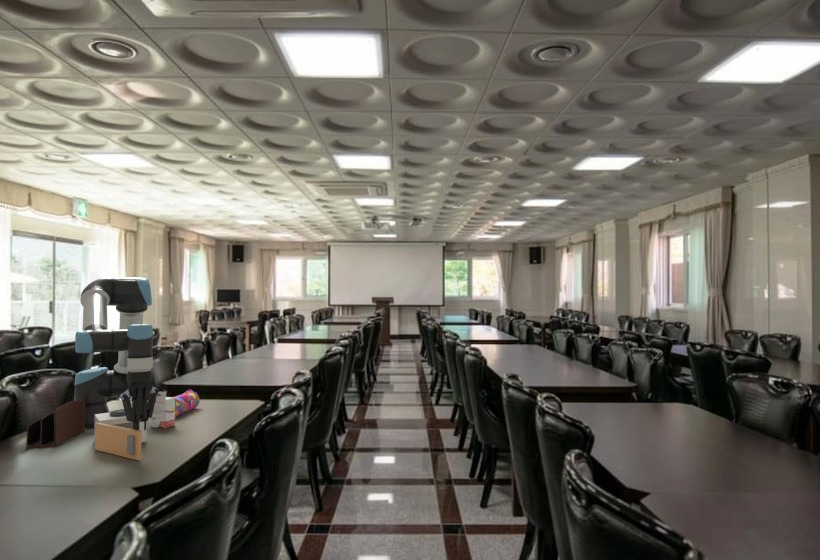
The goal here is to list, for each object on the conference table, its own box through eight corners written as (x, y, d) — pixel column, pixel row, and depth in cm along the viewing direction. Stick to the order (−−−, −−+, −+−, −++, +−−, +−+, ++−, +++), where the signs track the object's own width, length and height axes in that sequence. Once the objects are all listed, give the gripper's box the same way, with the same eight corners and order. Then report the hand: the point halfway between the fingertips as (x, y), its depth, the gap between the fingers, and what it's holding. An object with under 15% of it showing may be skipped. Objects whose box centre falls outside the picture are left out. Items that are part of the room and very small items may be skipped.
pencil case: (180, 408, 239) (181, 389, 240) (200, 407, 240) (200, 389, 240) (160, 418, 218) (160, 398, 218) (182, 418, 218) (182, 397, 218)
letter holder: (85, 432, 196) (85, 397, 196) (55, 447, 176) (56, 407, 177) (58, 433, 194) (58, 397, 195) (25, 448, 175) (26, 408, 175)
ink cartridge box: (175, 425, 205) (175, 390, 205) (165, 428, 200) (166, 392, 201) (160, 424, 208) (160, 388, 209) (150, 426, 203) (150, 391, 204)
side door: (97, 448, 172) (97, 422, 173) (141, 458, 160) (141, 430, 161) (91, 449, 170) (91, 423, 171) (135, 460, 158) (135, 432, 159)
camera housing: (94, 441, 182) (94, 411, 183) (139, 434, 192) (140, 405, 192) (98, 449, 172) (99, 417, 172) (146, 441, 181) (147, 411, 182)
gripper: (151, 367, 173) (150, 435, 172) (114, 372, 161) (113, 445, 160) (164, 368, 169) (164, 437, 168) (127, 373, 158) (127, 448, 157)
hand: (139, 441), depth 164 cm, fingers closed
